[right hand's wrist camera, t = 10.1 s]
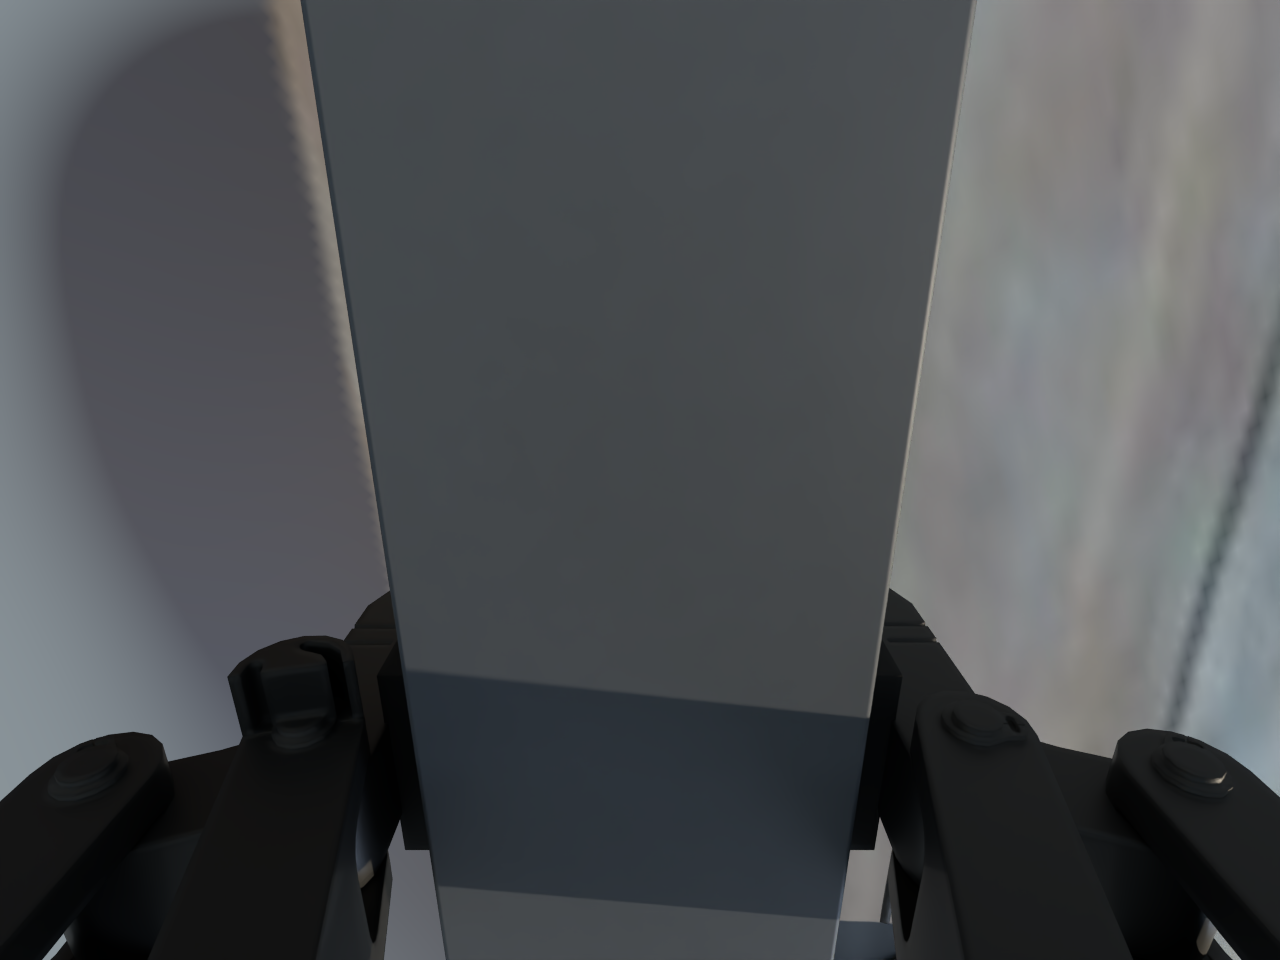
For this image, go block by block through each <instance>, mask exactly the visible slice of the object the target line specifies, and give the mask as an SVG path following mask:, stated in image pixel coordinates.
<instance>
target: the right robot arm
mask: <svg viewBox="0 0 1280 960" xmlns="http://www.w3.org/2000/svg"><path fill="white" fill-rule="evenodd" d="M228 681H229V685H230V689H231V693H232V697H233V701H234V704H235V708H236V712H237V716H238V720H239V724H240V728H241V732H242V735H243V737H242V739H241V742H240V744H239V745H237V746H233V747H230V748H226V749H223V750H219V751H215V752H210V753H206V754H201V755H196V756H192V757H187V758H183V759H178V760H174V761H169V762H168V760H167V757H166V754H165V751H164V747H163V744H162V743H161V742H160V741H158V740H157V739H156V738H155V737H154V736H153V735H149V734H143V733H137V732H128V733H120V734H111V735H106V736H103V737H99V738H96V739H94V740H89V741H86V742H84V743H81V744H79V745H77V746H75V747H73V748H71V749H69V750H67V751H65V752H63V753H61V754H59V755H57V756H55V757H53V758H52V759H50V760H49V761H48V762H46V763H45V764H43V765H42V766H41V767H39V768H38V769H37V770H35V771H34V772H33V773H31V774H30V775H29V776H28V777H27V778H25V779H24V780H23V781H22V782H21V783H20V784H19V785H18V786H17V787H16V788H14V789H13V790H12V791H11V792H10V793H9V794H8V795H7V796H6V797H5V798H3V799H2V800H1V801H0V960H42V959H43V958H44V957H45V956H46V954H47V953H48V952H49V951H50V949H51V948H52V947H53V946H54V945H55V943H56V942H57V941H58V940H59V938H60V937H61V936H62V935H63V933H64V935H65V937H66V940H67V941H66V942H65V944H64V945H63V946H62V947H61V949H60V950H59V951H58V953H57V954H56V955H55V956H54V957H53V958H52V959H51V960H384V952H385V943H386V934H387V925H388V916H389V906H390V897H391V888H392V872H391V865H390V859H389V853H388V848H389V846H390V843H391V841H392V838H393V835H394V833H395V830H396V828H397V826H398V823H399V820H400V821H401V827H402V833H403V839H404V845H405V850H429V844H428V838H427V831H426V824H425V818H424V811H423V805H422V798H421V791H420V785H419V778H418V772H417V765H416V758H415V752H414V745H413V739H412V732H411V725H410V719H409V712H408V706H407V699H406V692H405V686H404V679H403V673H402V666H401V659H400V653H399V646H398V640H397V633H396V626H395V620H394V613H393V607H392V600H391V593H390V591H389V592H387V593H386V594H384V595H383V596H381V597H380V598H379V599H377V600H376V601H374V602H373V603H371V604H370V605H368V607H367V608H366V609H365V611H364V612H363V614H362V615H361V617H360V618H359V619H358V621H357V622H356V624H355V628H354V629H352V630H351V631H350V632H349V634H348V635H347V637H346V638H345V640H344V641H343V640H341V639H337V638H333V637H329V636H302V637H298V638H293V639H289V640H284V641H280V642H277V643H275V644H272V645H270V646H268V647H265V648H263V649H260V650H258V651H256V652H255V653H253V654H252V655H250V656H249V657H247V658H246V659H244V660H243V661H241V662H240V663H239V664H238V665H237V666H236V667H235V668H234V670H233V671H232V672H231V673H230V674H229V676H228ZM879 818H881V821H882V823H883V826H884V828H885V831H886V833H887V836H888V838H889V841H890V843H891V846H892V853H891V859H890V864H889V870H888V876H887V881H886V887H885V893H884V898H883V904H882V911H881V918H880V922H881V923H886V924H889V922H890V917H891V914H892V923H893V932H894V941H895V951H896V959H894V960H1232V959H1231V958H1230V957H1229V956H1228V955H1227V954H1226V953H1225V951H1224V950H1223V949H1222V948H1221V947H1220V945H1219V944H1218V943H1217V942H1216V940H1215V939H1214V936H1215V933H1216V931H1217V930H1218V931H1219V933H1220V934H1221V935H1222V936H1223V938H1224V939H1225V940H1226V941H1227V942H1228V944H1229V945H1230V946H1231V947H1232V949H1233V950H1234V951H1235V952H1236V954H1237V955H1238V956H1239V957H1240V958H1241V960H1280V797H1279V796H1278V795H1277V794H1275V793H1274V792H1273V791H1272V790H1271V789H1270V788H1269V787H1268V786H1267V785H1265V784H1264V783H1263V782H1262V781H1261V780H1260V779H1259V778H1258V777H1257V776H1256V775H1254V774H1253V773H1252V772H1251V771H1250V770H1248V769H1247V768H1246V767H1244V766H1243V765H1242V764H1240V763H1239V762H1237V761H1236V760H1235V759H1233V758H1232V757H1231V756H1229V755H1228V754H1226V753H1224V752H1222V751H1220V750H1218V749H1216V748H1214V747H1212V746H1210V745H1208V744H1206V743H1204V742H1202V741H1200V740H1197V739H1195V738H1192V737H1189V736H1188V737H1187V736H1184V735H1182V734H1178V733H1174V732H1171V731H1162V730H1154V729H1142V730H1136V731H1130V732H1128V733H1126V734H1125V735H1124V736H1123V737H1122V738H1121V739H1119V740H1118V742H1117V745H1116V749H1115V752H1114V755H1113V758H1112V759H1111V758H1107V757H1102V756H1097V755H1093V754H1088V753H1084V752H1079V751H1074V750H1070V749H1065V748H1061V747H1057V746H1053V745H1050V744H1046V743H1043V742H1040V740H1039V738H1038V736H1037V734H1036V733H1035V731H1034V730H1033V729H1032V727H1031V726H1030V724H1029V723H1028V722H1027V720H1025V719H1024V718H1023V717H1022V716H1020V715H1019V714H1018V713H1016V712H1015V711H1014V710H1012V709H1011V708H1010V707H1008V706H1006V705H1004V704H1002V703H1000V702H997V701H995V700H993V699H991V698H989V697H986V696H982V695H978V694H975V693H974V692H973V690H972V689H971V687H970V686H969V684H968V683H967V682H966V680H965V679H964V677H963V676H962V674H961V673H960V672H959V670H958V669H957V667H956V666H955V664H954V663H953V662H952V660H951V659H950V657H949V656H948V654H947V653H946V652H945V650H944V649H943V647H942V646H941V644H940V643H939V642H936V637H935V636H934V634H933V633H932V632H931V630H930V629H929V627H928V626H925V622H924V620H923V619H922V617H921V616H920V614H919V613H918V612H917V610H916V609H915V607H914V606H913V604H912V603H910V602H909V601H908V600H906V599H905V598H903V597H902V596H900V595H899V594H897V593H896V592H894V591H893V590H891V589H890V588H889V592H888V599H887V606H886V612H885V619H884V626H883V632H882V639H881V646H880V653H879V659H878V666H877V673H876V679H875V686H874V693H873V699H872V706H871V713H870V719H869V726H868V733H867V739H866V746H865V753H864V760H863V766H862V773H861V780H860V786H859V793H858V800H857V806H856V813H855V820H854V826H853V833H852V840H851V846H850V850H874V848H875V842H876V836H877V830H878V824H879Z"/></svg>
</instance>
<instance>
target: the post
mask: <svg viewBox="0 0 1280 960" xmlns="http://www.w3.org/2000/svg"><path fill="white" fill-rule="evenodd" d="M976 4H977V0H301V6H302V13H303V19H304V26H305V33H306V39H307V46H308V52H309V59H310V66H311V72H312V79H313V85H314V92H315V99H316V105H317V112H318V118H319V125H320V132H321V138H322V145H323V151H324V158H325V165H326V171H327V178H328V184H329V191H330V198H331V204H332V211H333V217H334V224H335V231H336V237H337V244H338V250H339V257H340V264H341V270H342V277H343V283H344V290H345V297H346V303H347V310H348V316H349V323H350V330H351V336H352V343H353V349H354V356H355V362H356V369H357V376H358V382H359V389H360V395H361V402H362V409H363V415H364V422H365V428H366V435H367V442H368V448H369V455H370V461H371V468H372V475H373V481H374V488H375V494H376V501H377V508H378V514H379V521H380V527H381V534H382V541H383V547H384V554H385V560H386V567H387V574H388V580H389V587H390V593H391V600H392V607H393V613H394V620H395V626H396V633H397V640H398V646H399V653H400V659H401V666H402V673H403V679H404V686H405V692H406V699H407V706H408V712H409V719H410V725H411V732H412V739H413V745H414V752H415V758H416V765H417V772H418V778H419V785H420V791H421V798H422V805H423V811H424V818H425V824H426V831H427V838H428V844H429V851H430V857H431V864H432V870H433V877H434V884H435V890H436V897H437V903H438V910H439V917H440V923H441V930H442V936H443V943H444V950H445V956H446V960H834V953H835V947H836V940H837V933H838V927H839V920H840V913H841V907H842V900H843V893H844V887H845V880H846V873H847V866H848V860H849V853H850V846H851V840H852V833H853V826H854V820H855V813H856V806H857V800H858V793H859V786H860V780H861V773H862V766H863V760H864V753H865V746H866V739H867V733H868V726H869V719H870V713H871V706H872V699H873V693H874V686H875V679H876V673H877V666H878V659H879V653H880V646H881V639H882V632H883V626H884V619H885V612H886V606H887V599H888V592H889V586H890V579H891V572H892V566H893V559H894V552H895V546H896V539H897V532H898V525H899V519H900V512H901V505H902V499H903V492H904V485H905V479H906V472H907V465H908V459H909V452H910V445H911V439H912V432H913V425H914V418H915V412H916V405H917V398H918V392H919V385H920V378H921V372H922V365H923V358H924V352H925V345H926V338H927V332H928V325H929V318H930V312H931V305H932V298H933V291H934V285H935V278H936V271H937V265H938V258H939V251H940V245H941V238H942V231H943V225H944V218H945V211H946V205H947V198H948V191H949V184H950V178H951V171H952V164H953V158H954V151H955V144H956V138H957V131H958V124H959V118H960V111H961V104H962V98H963V91H964V84H965V78H966V71H967V64H968V57H969V51H970V44H971V37H972V31H973V24H974V17H975V11H976Z"/></svg>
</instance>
